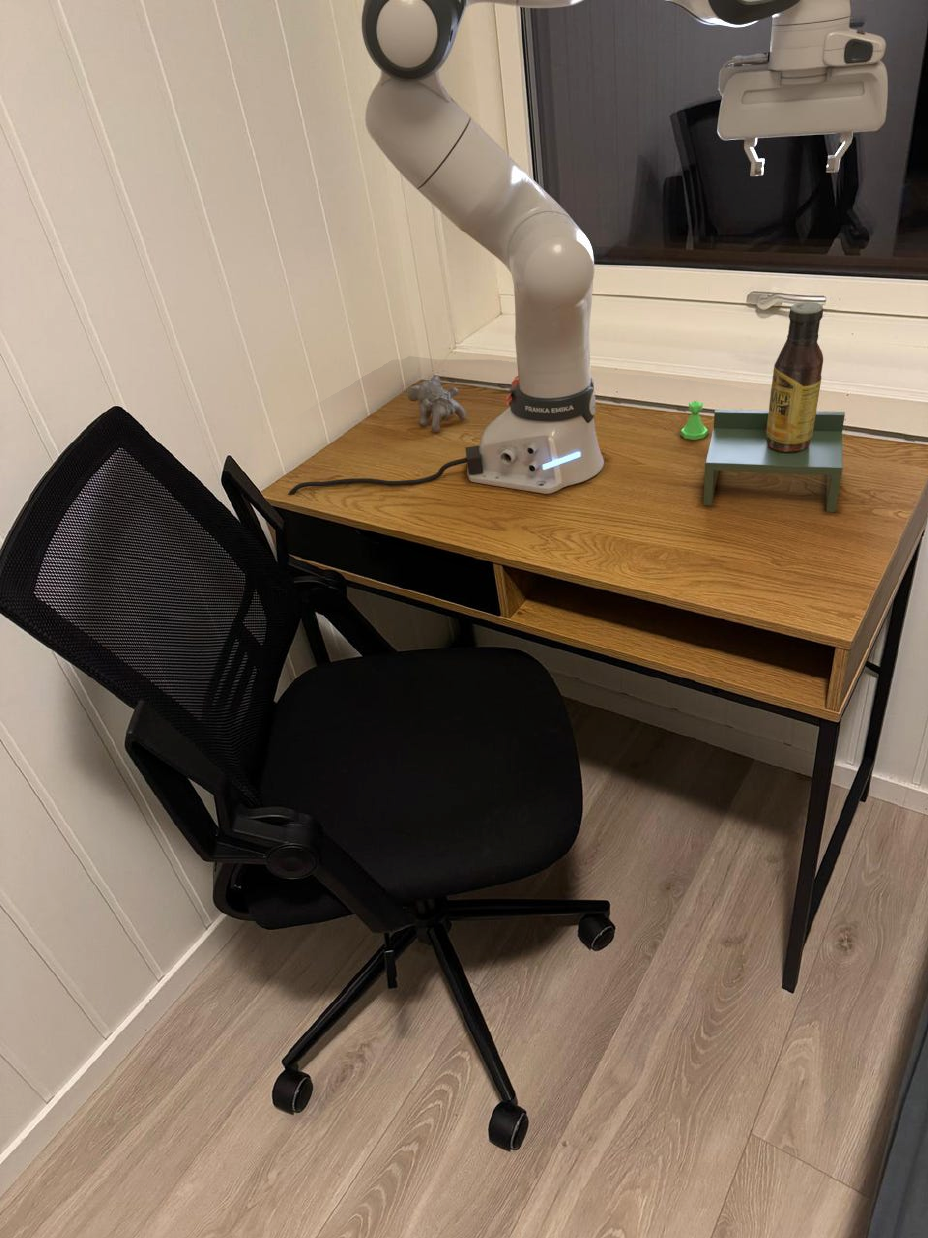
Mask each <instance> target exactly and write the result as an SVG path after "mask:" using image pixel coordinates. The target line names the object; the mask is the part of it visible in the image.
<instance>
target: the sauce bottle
mask: <svg viewBox="0 0 928 1238" xmlns="http://www.w3.org/2000/svg"><path fill="white" fill-rule="evenodd" d="M823 315H824V306H823V305H822V304H820V303H817V302H812V301H811V302H810V301H802V302H797V303H794V304H793V305H791V307H790V308H789V313H788V319H789V324H788V332H787V336H786V340H785V342H784V344H783V347H782V348H781V351H780V353H779V355H778V357H777V358H776V361H775V363H774V365H773V370H772V371H773V373H772V381H771V388H770V398H769V404H768V411H769V414H768V422H767V430H766V434H767V444H768V446H769V447H771V448H772V449H775V450H777V451H779V452H797V451H802V450H803V449H806V448H807V447H808V446H809V445H810V440H811V437H812V434H813V428H814V421H815V415H816V412H817V408H818V403H819V397H820V396H819V395H820V391H821V390H820V389H821V384H822V371H823V364H824V354H823V351H822V349H821V348H820V345H819V343H818V339H819V331H820V323H821V320H822V319H823Z"/></svg>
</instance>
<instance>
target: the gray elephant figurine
mask: <svg viewBox="0 0 928 1238" xmlns="http://www.w3.org/2000/svg"><path fill="white" fill-rule="evenodd" d="M450 391H451V392H450ZM457 395H459V389H458V388H457V387H455V386H451V387H449V388H448V389H446V388H444V387H442V381H441V378H440V377H439V376H438V375H435V376H433V377H431V379H430V380H429V379H427V380H424V381H422V382H420V383H419V384H414V385H412V386H410V387H409V388H408V389H407V393H406V396H407V397H406V398H407V399H408V400H409V401H410V402H417V401H418V402H417V403H418V407H419V414H420V419H419V425H420V426H421V427H427V426H428V425H429V421H430V418H431V415H432V421H431V425H430V426H431V427H430V428H431V432H433V433H435V434H436V433H439V432H440V429H441V428H440V426H441V422H442V419H443V418H445V419H446V420H449V417H450V416H451V415H457V417H458V418H459V419H460V420H461V421H464V420H465V419H466V417H467V413H466V410H465V408H463V406H462V405H461V404H460V403H459V402H458V401H457V400H455V399H454V397H455V396H457Z"/></svg>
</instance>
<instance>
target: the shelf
mask: <svg viewBox="0 0 928 1238" xmlns="http://www.w3.org/2000/svg"><path fill="white" fill-rule="evenodd" d="M768 414H769V410H761V409H759V410H757V409H756V410H753V409H752V410H751V409H714V414H713V429H712V433H711V439H710V442H709V446H708V449H707V450H708V451H707V454H706V458H705V459H706V460H705V464H704V466H705V467H704V485H703V502H702V503H703V506H712V505H713V501H714V497H715V492H716V488H717V483H718V478H719V472H720V471H721V472H743V473H767V474H768V473H769V474H791V475H813V476H814V475H815V476H826V504H825V505H826V506H825V507H826V509H825V511H826V513H836V512H837V506H838V499H839V493H840V487H841V481H842V475H843V474H842V473H843V469H844V468H843V428H844V421H845V417H846V416H845V415H846V412H845V411H816V415H815V421H814V428H813V434H812V437H811V440H810V445H809V446H808V447H807V448H806V449H803V450H802V451H797V452H779V451H777V450H775V449H772V448H771V447H769V446H768V444H767V434H766V430H767V422H768Z"/></svg>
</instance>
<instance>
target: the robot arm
mask: <svg viewBox="0 0 928 1238" xmlns="http://www.w3.org/2000/svg"><path fill="white" fill-rule="evenodd" d="M583 1H584V0H364V1H363V7H362V13H361V34H362V39H363V43H364V46H365V48H366V51H367V53H368V55H369V57H370V58H371V61H372V62H373V63H374V64H375V65H376V66H377V68H378V69H379V70H380V75H379V79H378V82H377V83H376V85H375V87H374V88H373V90H372V92H371V94H370V96H369V98H368V101H367V104H366V107H365V108H366V109H365V113H364V116H365V117H364V121H365V122H364V123H365V127H366V131H367V132H368V135H369V136H370V138H371V139H372V140H373V142H374V143H375V144H376V146H377V147H378V148H379V150H380V151H381V152H382V153H383V155H384V156H385V157H386V159H387V160H388V161H389V162H390V163H391V164H392V166H393V167H394V168H395V169H396V170H397V171H398V172H399V173H400V174H401V175H402V176H403V177H404V178H405V180H406V181H408V183H409V184H411V185H412V186H413V188H414V189H416V191H418V192H419V193H420V194H421V195H422V196H423V197H424V198H425V199H426V200H427V201H429V202H430V203H431V204H432V205H433V206H434V207H435V208H436V209H437V210H438V211H440V213H442V214H443V215H444V216H445V217H446V218H447V219H448V220H449V221H450V222H451V223H452V224H454V225H455V227H456V228H458V229H459V230H460V231H461V232H463V233H464V234H465V235H467V236H469V238H471V239H472V240H474V241H475V242H477V243H478V244H479V245H481V246H482V247H483V248H484V249H486V250H487V251H488V252H489V253H490V254H491V255H493V256H494V257H495V258H496V259H497V260H498V261H500V262H501V263H502V264H503V265H504V266H505V267H506V268H507V270H508V271H509V273H510V274H511V278H512V282H513V292H514V307H515V308H514V313H515V314H514V315H515V318H514V319H515V335H514V341H515V342H514V343H515V344H514V345H515V355H516V363H517V365H516V366H517V376H515V377H514V379H513V381H512V382H511V387H510V388H509V390H508V392H507V396H506V397H505V399H506V406H509V407H507V409H504V411H502V412H501V413H500V414H499V415H498V416H496V417H495V418H493V419H492V421H491V422H490V423H489V424H487V426H486V427H485V429H484V430H483V432H482V435H481V438H480V440H479V441H480V442H479V445H472V446H465V448H464V449H465V457H463V458H458V459H455V460H451V461H448V462H446V463H445V464H443V465H442V466H441V467H440V468H439V469H438V471H437V472H436V473H434V474H431V475H429V476H427V477H423V478H415V479H404V480H386V479H385V480H384V479H377V478H370V477H369V478H368V477H366V478H365V477H364V478H363V477H361V478H360V477H358V478H341V479H332V480H323V481H305V482H300V483H298V484H296V485H295V486H293V487H292V488H291V489H290V490H289V492H288V493H287V495H288V496H293V495H295V494H296V492H297V491H299V490H300V489H304V488H308V487H328V486H329V487H330V486H336V485H345V484H373V485H379V486H380V485H381V486H390V487H391V486H392V487H393V486H412V485H420V484H424V483H428V482H431V481H435V480H437V479H438V478H441V476H442V475H443V474H444V472H445V471H446V470H448V469H449V468H452V467H454V466H459V465H463V464H466V465H467V467H466V476H467V478H468V481H470V482H472V483H476V484H482V485H488V486H495V487H501V488H507V489H513V490H519V491H525V492H532V493H536V494H537V493H538V494H544V495H550V494H553V493H556V492H558V491H560V490H561V489H563V488H566V487H568V486H573V485H576V484H580V483H582V482H585V481H588V480H590V479H592V478H594V477H595V476H596V475H598V474H599V473H600V472H601V471H602V470H603V468H604V465H605V459H604V456H603V454H602V451H601V449H600V445H599V441H598V436H597V431H596V425H595V419H594V418H595V414H596V391H595V385H594V380H593V378H592V377H591V352H590V349H591V348H590V347H591V346H590V324H591V323H590V322H591V313H592V304H593V291H594V289H593V287H594V277H595V256H594V252H593V247H592V245H591V243H590V240H589V239H588V237H587V235H586V234H585V233H584V232H583V231H582V230H581V228H580V227H579V225H577V223H576V222H575V221H574V220H573V218H572V217H571V216H570V215H569V213H568V212H567V211H566V210H565V209H564V208H563V207H562V206H561V205H560V204H559V203H558V202H557V201H556V200H555V199H554V198H553V197H552V196H551V195H550V194H549V193H548V192H546V190H545V189H544V188H543V187H542V186H541V185H540V184H539V183H538V182H536V181H535V180H534V178H533V177H532V176H530V175H529V174H528V172H526V171H525V170H524V169H523V167H521V165H519V164H518V163H517V162H516V161H515V160H514V159H513V158H512V157H511V156H510V155H509V154H508V153H507V152H506V151H505V149H503V148H502V147H501V145H499V144H498V143H497V142H496V141H495V140H494V139H493V138H492V137H491V136H490V135H489V134H488V133H487V132H486V130H484V129H483V128H482V127H481V126H480V125H479V124H478V123H477V122H476V120H474V118H472V116H470V115H469V114H468V112H466V111H465V109H463V107H461V106H460V105H459V104H458V102H457V101H455V100H454V98H453V97H452V96H451V95H450V94H449V93H448V91H447V90H446V88H445V87H444V85H443V83H442V80H441V78H440V73H439V72H440V71H439V70H440V69H441V68H442V66H443V65H444V64H445V62H446V61H447V59H448V57H449V55H450V53H451V51H452V49H453V46H454V43H455V40H456V38H457V34H458V31H459V28H460V25H461V22H462V20H463V17H464V14H465V11H466V9H467V8H468V7H470V6H472V5H477V4H496V5H506V6H510V7H511V6H513V7H518V8H528V9H529V8H530V9H552V8H563V7H571V6H574V5H577V4H580V3H581V2H583ZM663 1H664V2H668V3H672V4H674V5H675V6H677V7H679V8H680V9H681V10H682V11H683V12H684V13H686V14H687V15H688V16H690V17H691V18H692V19H694V20H695V21H697V22H699V23H701V24H704V25H709V26H719V25H720V26H726V27H731V28H743V27H747V26H751V25H753V24H755V23H758V22H759V21H761V20H764V19H767V18H770V17H772V21H771V22H772V25H771V32H770V33H771V35H770V47H769V52H760V53H759V52H758V53H754V54H747V55H744V54H740V55H734V56H732V57H731V59H730V60H728V61H726V62H725V63H724V64H723V65H722V67H721V69H720V70H719V74H718V92H719V94H720V96H722V97H721V102H720V107H719V113H718V121H717V131H716V132H717V134H718V136H719V138H720V139H721V140H723V141H731V140H744V143H743V149H744V151H745V154H746V155H747V157H748V160H749V162H750V163H751V164H750V177H758V176H763V175H764V165H765V158H759V157H758V155H757V153H756V150H755V147H756V145H757V143H758V139H764V138H767V139H768V138H781V137H783V138H784V137H798V136H799V137H800V136H814V135H831V134H840V138H839V143H841V145H840V146H839V148H838V150H837V152H835V154H829V155H828V156H827V162H826V163H827V165H826V171H825V172H826V173H829V174H830V173H839V169H840V162H841V158H842V157H843V156H844V154H845V152H846V151H847V150H848V148H849V146H850V145H851V144H852V142H853V141H852V140H853V136H854V135H853V134H854V133H861V132H862V133H865V132H876V131H878V130H879V129H881V127H882V126H883V125H884V124H885V123H886V118H887V110H888V96H889V93H888V92H889V83H888V82H889V81H888V80H889V79H888V71H887V67H886V65H885V63H884V62H883V61H881V60H882V59H883V57H884V55H885V52H886V47H887V43H886V40H885V38H883V37H882V36H881V35H877V34H874V33H869V32H866V31H864V30H861V29H854V28H850V20H851V14H852V13H851V11H852V9H851V2H850V1H851V0H663ZM729 65H731V66H729ZM315 618H316V619H317V622H318V617H317V614H316V615H315ZM318 623H319V622H318Z"/></svg>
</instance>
